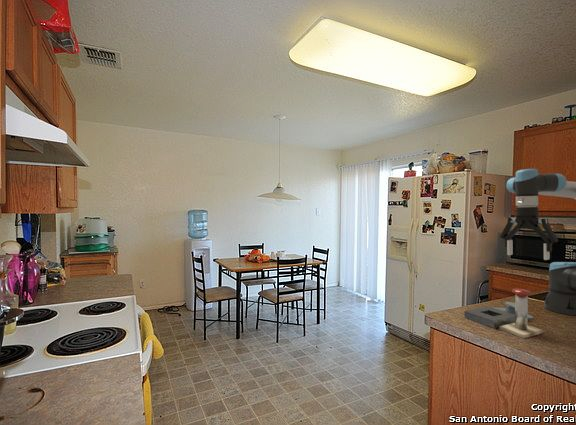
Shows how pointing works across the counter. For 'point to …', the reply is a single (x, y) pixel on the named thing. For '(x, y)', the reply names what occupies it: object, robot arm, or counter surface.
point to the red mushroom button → (521, 308)
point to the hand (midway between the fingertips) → (527, 257)
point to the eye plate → (490, 316)
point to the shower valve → (511, 308)
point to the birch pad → (521, 333)
